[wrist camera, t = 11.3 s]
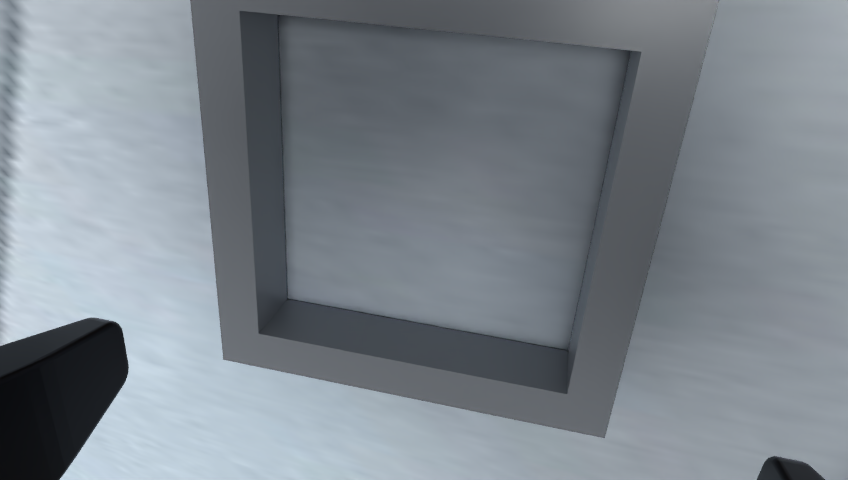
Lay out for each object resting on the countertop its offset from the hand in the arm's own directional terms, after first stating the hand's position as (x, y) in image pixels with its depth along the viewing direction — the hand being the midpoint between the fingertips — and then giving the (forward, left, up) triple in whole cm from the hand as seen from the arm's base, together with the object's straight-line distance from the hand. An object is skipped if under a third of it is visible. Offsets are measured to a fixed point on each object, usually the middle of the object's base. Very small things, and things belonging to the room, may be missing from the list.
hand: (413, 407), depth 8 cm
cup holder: (-2, +2, -13) cm, 13 cm away
